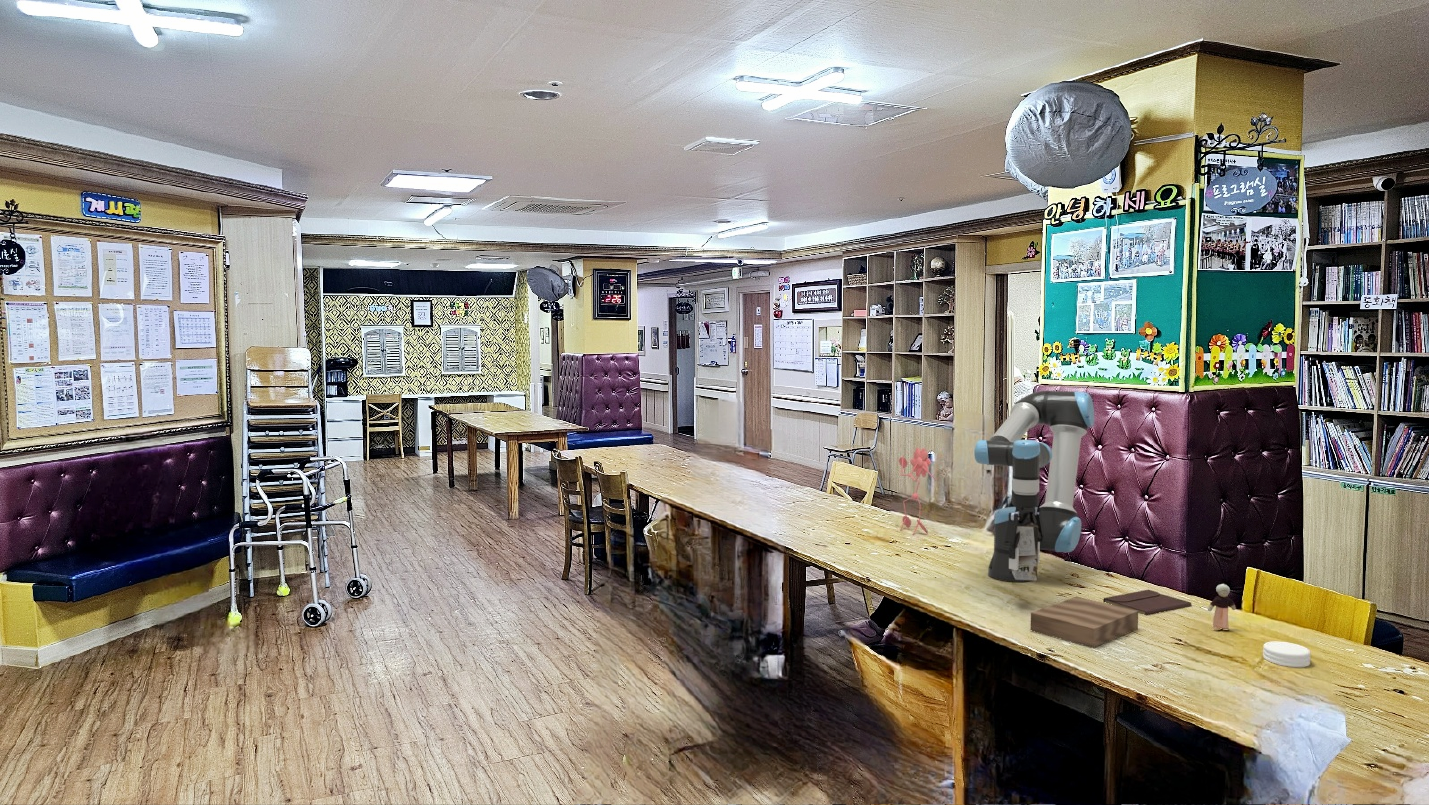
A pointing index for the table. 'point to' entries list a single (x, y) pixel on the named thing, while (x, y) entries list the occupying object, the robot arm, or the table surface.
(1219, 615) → the grandmother figurine
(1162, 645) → the table surface
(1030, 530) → the coffee box
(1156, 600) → the notebook
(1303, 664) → the white round tin
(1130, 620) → the walnut step
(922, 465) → the figurine
